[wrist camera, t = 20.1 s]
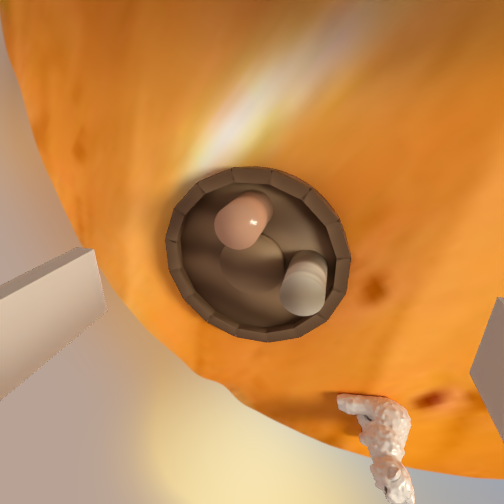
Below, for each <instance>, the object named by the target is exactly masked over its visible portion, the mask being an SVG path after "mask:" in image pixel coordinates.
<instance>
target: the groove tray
mask: <svg viewBox="0 0 504 504" xmlns="http://www.w3.org/2000/svg"><path fill="white" fill-rule="evenodd" d="M252 189H254V190H259V191H262V192H264V193H265V194H266V195H267V196H268V197H269V198H270V200H271V201H272V204H273V215H272V218H271V220H270V221H269V223H268V224H267V226H266V227H265V229H264V230H263V231H262V233H261V234H260V236H259V237H258V239H257V240H256V242H255V243H254V244H253V245H252V246H250V247H249V248H246V249H242V250H236V249H232V248H229V247H227V246H226V245H224V244H223V243H222V242H221V241H220V240H219V238H218V237H217V235H216V232H215V228H214V222H215V218H216V216H217V214H218V212H219V211H220V210H221V209H223V208H224V207H225V206H226V205H228V204H229V203H230V202H232V201H233V200H234V199H235V198H237V197H238V196H239V195H241V194H242V193H243V192H245V191H247V190H252ZM165 242H166V250H167V258H168V266H169V270H170V271H169V272H170V273H171V275H172V277H173V279H174V281H175V283H176V285H177V287H178V289H179V291H180V293H181V295H182V297H183V299H184V298H185V299H184V300H185V301H186V302H187V303H188V304H189V305H190V306H191V307H192V308H193V309H194V310H195V311H196V312H197V313H198V314H199V315H200V316H201V317H202V318H203V319H204V320H205V321H208V323H210V324H212V325H214V326H215V327H217V328H219V329H221V330H223V331H225V332H227V333H229V334H231V335H233V336H236V337H238V338H244V339H250V340H256V341H261V342H267V341H268V342H275V341H281V340H287V339H293V338H299V336H300V337H301V336H303V335H305V334H306V333H308V332H310V331H311V330H313V329H315V328H316V327H318V326H320V325H321V324H323V323H325V322H326V321H327V320H328V319H329V318H330V316H331V315H332V313H333V312H334V310H335V309H336V307H337V306H338V305H339V303H340V302H341V300H342V299H343V297H344V296H345V294H346V291H347V284H348V277H349V269H350V262H351V253H350V250H349V247H348V243H347V239H346V235H345V232H344V229H343V226H342V224H341V221H340V218H339V217H338V215H337V214H336V213H335V211H334V209H333V208H332V207H331V206H330V204H329V203H328V202H327V200H326V199H325V198H324V197H323V196H322V195H321V194H320V193H319V192H318V191H317V190H315V189H314V188H313V187H311V186H310V185H309V184H307V183H306V182H304V181H302V180H301V179H299V178H297V177H295V176H293V175H291V174H288V173H286V172H283V171H280V170H276V169H273V168H266V167H257V166H254V167H233V168H231V169H228V170H226V171H224V172H221V173H218V174H216V175H214V176H211V177H209V178H206V179H204V180H202V181H199V182H197V183H196V184H195V185H194V186H193V187H192V189H191V190H190V191H189V192H188V193H187V194H186V195H185V196H184V198H183V199H182V200H181V201H180V202H179V203H178V204H177V205H176V207H175V208H174V210H173V214H172V217H171V221H170V224H169V228H168V231H167V234H166V239H165ZM302 250H313V251H316V252H318V253H320V254H321V255H322V256H323V257H324V258H325V260H326V262H327V265H328V271H327V282H326V293H325V302H324V305H323V307H322V308H321V310H320V311H318V312H317V313H315V314H313V315H310V316H298V315H295V314H293V313H291V312H289V311H288V310H287V309H285V307H284V306H283V305H282V303H281V301H280V297H279V293H280V289H281V286H282V283H283V280H284V277H285V274H286V272H287V269H288V266H289V263H290V260H291V258H292V257H293V256H294V255H295V254H296V253H297V252H299V251H302Z"/></svg>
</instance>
